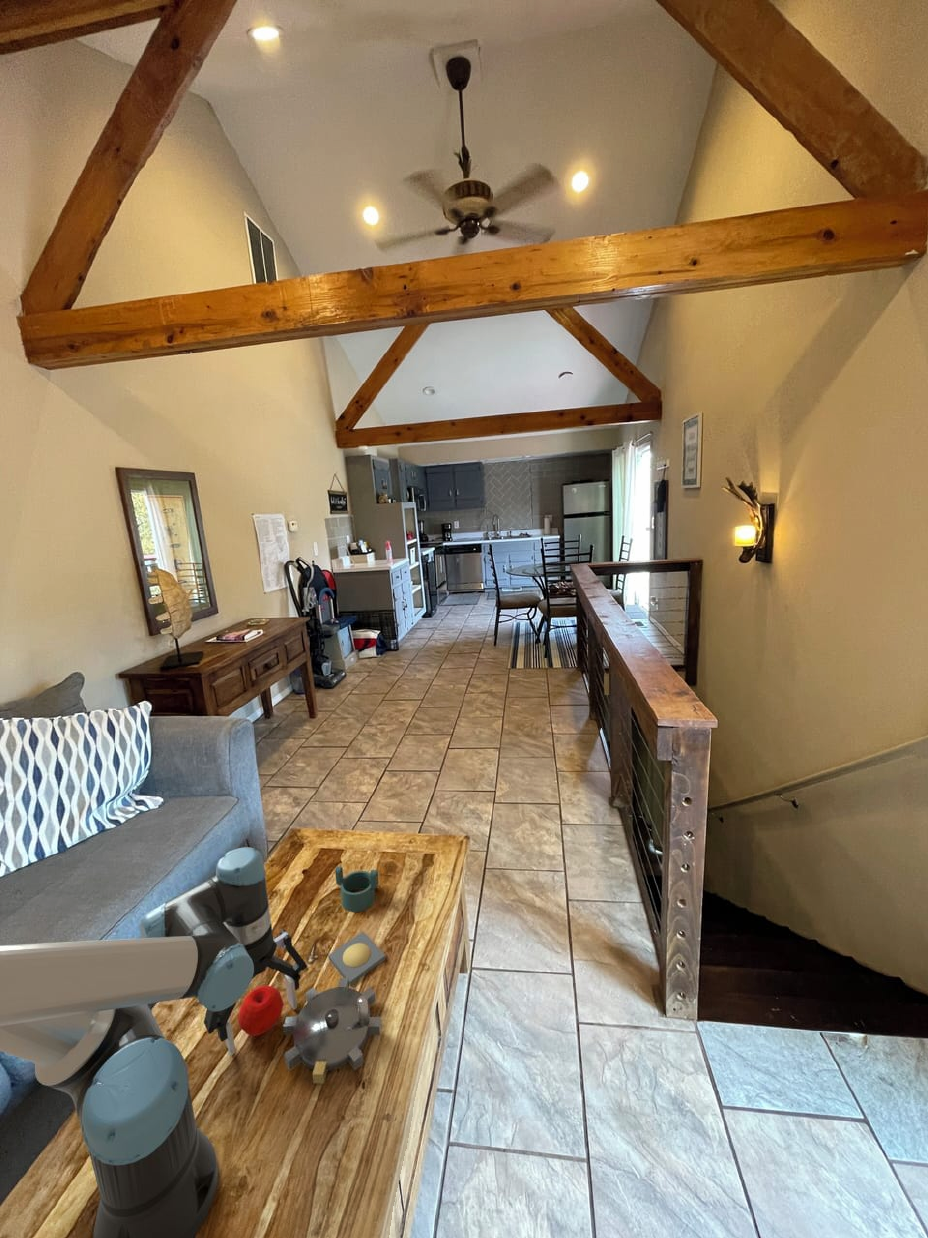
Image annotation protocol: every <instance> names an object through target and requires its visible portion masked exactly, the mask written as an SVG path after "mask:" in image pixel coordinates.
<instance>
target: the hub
mask: <svg viewBox="0 0 928 1238" xmlns="http://www.w3.org/2000/svg"><path fill="white" fill-rule="evenodd" d="M338 1021H339V1016H338V1011H337V1010H336V1009H331V1010H329V1011H328V1012H327V1013H326V1015H325V1022H326V1025H327V1026H328V1027H333V1026H335V1025H336V1024H337V1023H338Z"/></svg>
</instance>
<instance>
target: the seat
mask: <svg viewBox="0 0 928 1238" xmlns="http://www.w3.org/2000/svg"><path fill="white" fill-rule="evenodd" d="M327 956H328V960H329V961H330V963H331V964H332V965H333V966H334V968H335V969H336V970H337V971H338V973H339V974H340V975H341V976H342V978H349V986H353V984H355V983H356V982H357V981H358V980H360V979H362V977H364V976H365V975H367V974H368V973H369V972H370V971H372V970H374V968H376V967H377V966H379V965H380V964H381V963H382V962H384V961H385V960H386V958H387V955H386V954H385V953H384V952H383V951H382V949H380V947H378V946H377V944H375V942H374V941H373V940H372V939H371V938H370V937H369V936H368V935H367V934H366V933H365V931H362V932H360V933H358V934H357V935H355V936H354V937H353V938H351V939H350V940H348V941H347V942H346V943H344V944H342V945H341V946H339V947H338V948H336V949H335V950H334V951H332V952H331V953H329V954H328V955H327Z"/></svg>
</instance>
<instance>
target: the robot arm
mask: <svg viewBox="0 0 928 1238" xmlns="http://www.w3.org/2000/svg"><path fill="white" fill-rule="evenodd" d="M266 873H267V872H266V869H265V865H264V859H263V856H262V854H261V852H260V851H259V850H257V849H256V848H253V847H243V846H242V847H239V848H235V849H233V850H230V851H228V852H227V853H225V854H224V856H222V857H221V858H220V859H219V860H218V861H217V864H216V871H215V875H214V876H212V877H209V878H208V879H207V880H206V881H204V882H202V883H199V884H198V885H195V886H194V887H191V888H190V889H187V890H186V891H184V892H182V893H180V894H179V895H176V896H174V897H172V898H171V899H168V900H165V901H164V902H163V903H162V904H161V905H159V906H157V907H155V908H153V909H152V910H150V911H148V912H147V913H145V914H144V915H143V916H142V917H141V919H140V921H139V931H140V937H141V938H127V939H126V938H123V939H106V940H103V939H102V940H101V939H100V940H86V941H85V940H84V941H83V940H81V941H65V942H64V941H63V942H45V943H44V942H43V943H41V942H39V943H25V944H21V943H20V944H5V945H4V944H3V945H1V944H0V1052H3V1053H5V1054H8V1055H11V1056H13V1057H16V1058H18V1059H22V1060H24V1061H27V1062H30V1063H32V1064H34V1074H35V1076H34V1077H35V1078H36V1080H37V1082H39V1083H40V1084H41V1085H43V1086H46V1087H50V1088H51V1089H55V1090H57V1091H61V1092H64V1093H66V1094H68V1095H69V1097H71V1099H72V1101H73V1104H74V1107H75V1110H76V1111H75V1112H76V1115H77V1117H78V1120H79V1125H80V1128H81V1134H82V1136H83V1137H82V1139H83V1140H84V1143H85V1146H86V1148H87V1150H88V1151H87V1152H88V1154H89V1158H90V1161H91V1162H90V1163H91V1165H92V1168H93V1172H94V1173H93V1174H94V1177H95V1179H96V1180H95V1181H96V1185H97V1188H98V1191H99V1195H100V1198H99V1202H98V1208H97V1212H96V1216H95V1217H96V1218H95V1221H94V1222H95V1223H94V1227H93V1238H195V1237H196V1236H197V1234H198V1232H199V1231H200V1229H201V1228H202V1226H203V1225H204V1222H205V1221H206V1219H207V1217H208V1215H209V1212H210V1210H211V1208H212V1205H213V1203H214V1200H215V1197H216V1193H217V1188H218V1183H219V1165H218V1159H217V1158H218V1157H217V1155H216V1150H215V1148H214V1145H213V1143H212V1141H211V1140H210V1139H209V1137H207V1135H206V1134H204V1132H203V1131H201V1130H200V1128H198V1127H197V1123H196V1118H195V1113H194V1107H193V1101H192V1097H191V1096H192V1095H191V1091H190V1089H191V1088H190V1084H189V1081H190V1080H189V1078H190V1076H189V1072H188V1066H187V1063H186V1061H185V1059H184V1056H183V1055H182V1053H181V1051H180V1050H179V1048H178V1047H177V1046H176V1044H175V1043H173V1042H172V1041H170V1040H168V1039H166V1037H165V1035H164V1033H163V1032H162V1030H161V1028H160V1026H159V1023H158V1022H157V1020H156V1018H155V1016H154V1014H153V1012H152V1008H151V1004H157V1003H164V1002H169V1001H177V1000H186V999H192V998H197V1000H198V1003H199V1004H200V1005H201V1006H203V1007H204V1008H205V1009H206V1012H205V1016H204V1020H203V1024H204V1027H205V1029H206V1031H207V1033H208V1034H212V1033H214V1031H216V1030H217V1031H216V1032H217V1036H218V1039H219V1040H220V1042H222V1043H223V1042H225V1045H226V1047H227V1049H228V1051H229V1054H230V1056H233V1055H234V1054H235V1053H236V1046H235V1040H234V1033H233V1028H232V1024H231V1021H230V1017H231V1015H232V1013H233V1010H234V1008H235V1006H236V1003H237V1002H238V1001H239V1000H240V999H241V998H242V997H243V996H244V994H245V993H246V992H247V990H248V989H249V986H250V984H251V982H252V980H253V979H255V977H256V976H258V975H259V974H262V973H263V972H265V971H266V970H267V968H269V969H271V970H273V971H274V970H276V971H278V972H279V973H281V974H283V975H284V980H285V981H284V983H285V989H286V991H285V992H286V997H287V1002H288V1003H289V1005H290V1007H291V1008H292V1010H293V1011H295V1010H296V1009H298V1003H297V1002H298V1001H297V996H296V995H297V994H296V993H297V992H296V991H297V990H299V989H300V980H301V977H302V976H301V975H300V974H301V973H300V972H302V971H306V969H307V967H308V965H307V963H306V962H305V960H304V959H303V957H302V956H301V955H300V953H298V950H296V948H295V947H294V946H293V941H292V937H291V936H290V935H289V934H290V933H288V932H287V931H286V929H282V930H281V931H280V932H279V936H278V937H276V938H274V936H273V935H274V934H273V925H272V919H271V918H272V917H271V912H270V911H271V910H270V904H269V899H268V888H267V878H266V876H267V874H266ZM277 947H279V948H281V949H285V950H286V951H287V953H288V954H289V956H290V957H291V958H292V959H293V961H294V962H295V963H294V964H292V963H289V962H288V961H286V960H283V959H282V958H279V957H278V956H276V955H275V952H276V950H277Z"/></svg>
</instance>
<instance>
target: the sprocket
mask: <svg viewBox="0 0 928 1238" xmlns="http://www.w3.org/2000/svg"><path fill="white" fill-rule="evenodd" d="M305 1002H306V1003H305V1005H304V1006H303V1007H302V1008H301V1010H300V1012H299V1013H298V1015H297V1016H286V1017H285V1021H284V1022H283V1025H282V1028H283V1035H284V1036H292V1038H293V1039H292V1040H293V1045H294V1046H292V1047H291V1048H290V1049H288V1051H285V1053H284V1054H283V1055H284V1063H285V1065H286V1066H287V1069H288V1070H289V1071H292V1070H293V1069H294V1068H295V1067H296V1066H298V1064H300V1063H301V1064H303V1066H305V1067H307V1068H309V1069H311V1070H313V1071H312V1079H313V1080H312V1083H313V1084H323V1085H324V1084H325V1082H326V1077H327V1074H328V1071H331V1070H334V1069H338V1068H340V1067H343V1066H344V1065H346V1064H347V1063H349V1065H350V1066H351V1068H352V1069H353V1071H357V1069H359V1068H360V1067H361V1066H362V1065H363V1064H364V1054H363V1052H362V1049H363V1048H364V1046H365V1045H366V1043H367V1041H368V1038H369V1036H380V1035H381V1030H382V1017H381V1016H371V1009H370V1006H371V1005H373V1004H374V1003H375V1002H377V998H376V992H375V991H374V989H372V987H371V986H370V987H368V988H367V989H365V990H364V991H363V992H362V993H361V992H359V991H358V990H357V989H354V988H352V987H350V985H349V978H343V977H340V978H339V979H338V984H337V986H336V987H332V988H328V989H326V990H323V991H322V992H320V993H318V991H317V989H316V988H315V987H314V986H313V987H312V988H311V989H309V990H307V991H306V992H305ZM331 1009H336V1010H337V1011H338V1016H339V1021H338V1023H337V1024H336V1025H335V1026H333V1027H328V1026H327V1025H326V1022H325V1015H326V1013H327V1012H328V1011H329V1010H331Z"/></svg>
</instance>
